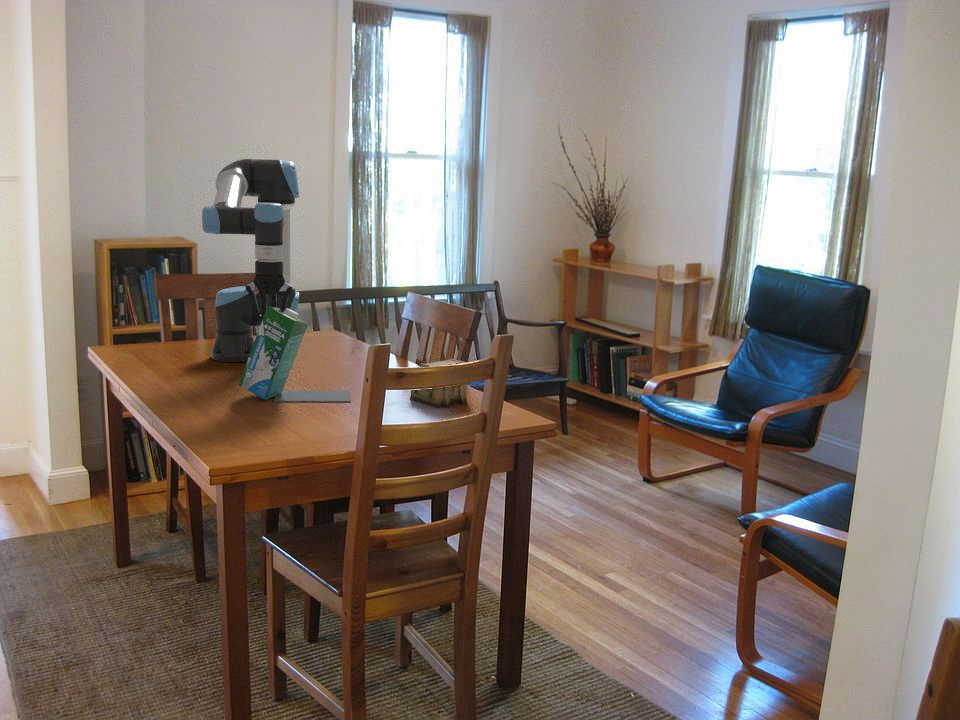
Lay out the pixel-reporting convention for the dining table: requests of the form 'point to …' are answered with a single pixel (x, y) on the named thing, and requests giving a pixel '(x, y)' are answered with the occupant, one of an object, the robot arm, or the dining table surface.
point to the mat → (314, 396)
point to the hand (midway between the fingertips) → (269, 344)
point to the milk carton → (273, 352)
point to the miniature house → (441, 391)
